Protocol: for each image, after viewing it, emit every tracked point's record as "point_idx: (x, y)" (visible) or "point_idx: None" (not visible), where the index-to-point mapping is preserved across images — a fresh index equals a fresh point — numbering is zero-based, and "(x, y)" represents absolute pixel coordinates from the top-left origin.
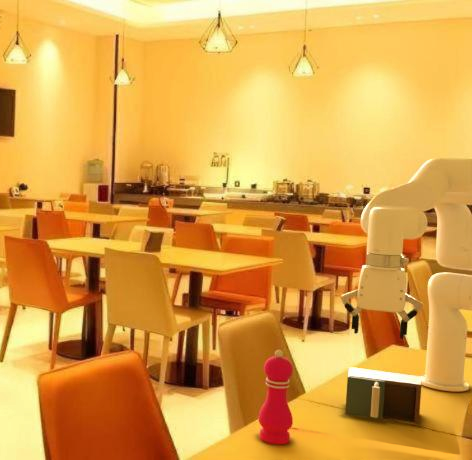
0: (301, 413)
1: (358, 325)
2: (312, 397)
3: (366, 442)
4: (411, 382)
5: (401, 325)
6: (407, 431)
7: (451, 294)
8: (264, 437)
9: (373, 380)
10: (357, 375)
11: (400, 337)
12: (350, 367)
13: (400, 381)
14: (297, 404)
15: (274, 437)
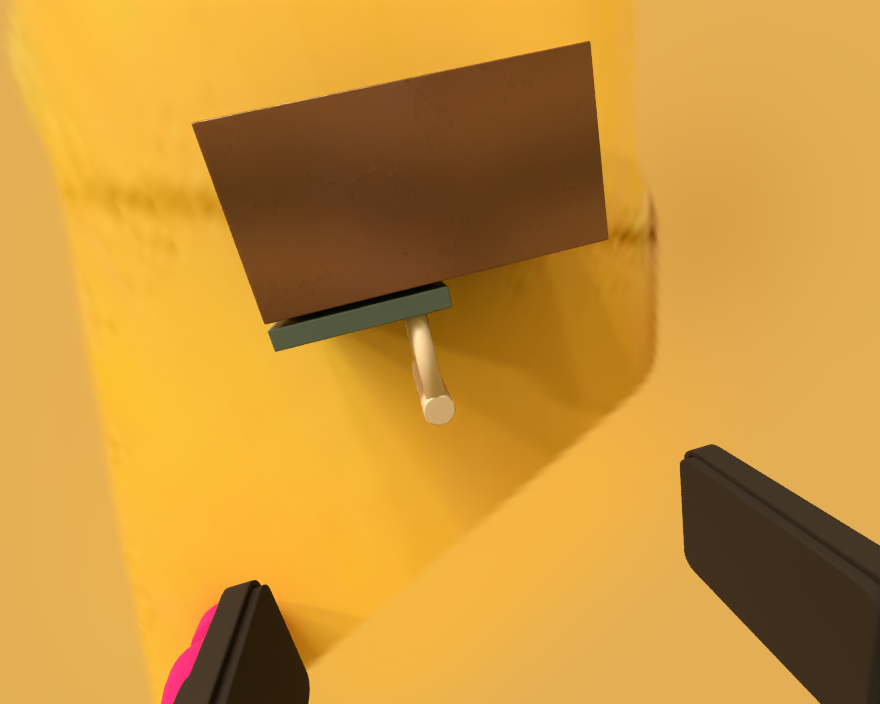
0: (173, 379)
1: (254, 667)
2: (82, 134)
3: (436, 482)
4: (563, 229)
5: (819, 687)
6: (509, 310)
7: None
8: None
9: (400, 319)
10: (306, 294)
11: (697, 566)
12: (195, 125)
13: (515, 250)
14: (98, 286)
15: None
